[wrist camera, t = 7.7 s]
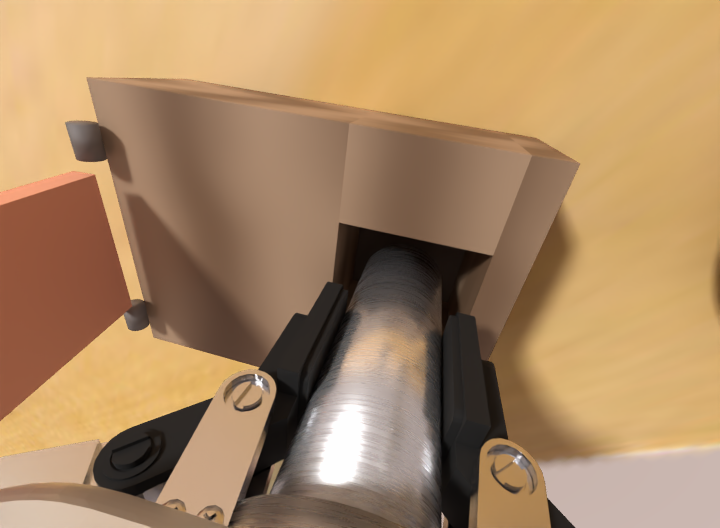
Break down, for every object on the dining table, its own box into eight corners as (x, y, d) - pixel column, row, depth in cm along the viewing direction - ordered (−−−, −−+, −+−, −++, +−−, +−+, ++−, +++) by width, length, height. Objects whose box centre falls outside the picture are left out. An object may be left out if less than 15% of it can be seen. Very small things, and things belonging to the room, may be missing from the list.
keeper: (73, 171, 12) (94, 174, 12) (115, 303, 15) (132, 306, 15) (-331, 289, 5) (-283, 296, 5) (-107, 482, 8) (-76, 487, 8)
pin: (470, 244, 13) (563, 765, 3) (440, 331, 15) (438, 788, 5) (357, 220, 13) (126, 594, 4) (345, 308, 16) (184, 682, 6)
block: (536, 138, 13) (595, 172, 8) (455, 348, 19) (459, 444, 14) (177, 77, 15) (42, 74, 10) (205, 285, 21) (129, 349, 16)
